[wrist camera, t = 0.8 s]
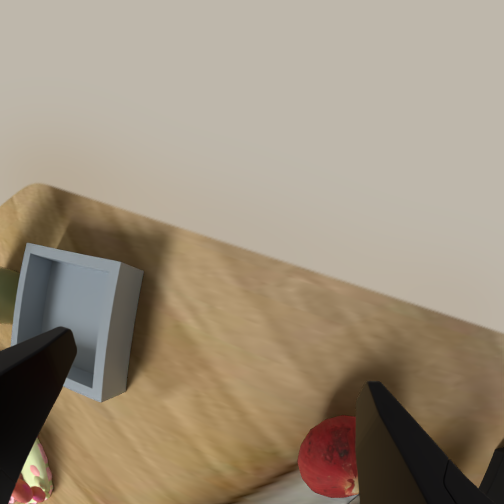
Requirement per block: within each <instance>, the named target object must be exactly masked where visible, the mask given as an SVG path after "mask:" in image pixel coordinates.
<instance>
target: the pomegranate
mask: <svg viewBox="0 0 504 504" xmlns="http://www.w3.org/2000/svg"><path fill="white" fill-rule="evenodd" d="M355 441H356V417H353V416H346V415H341V416H337V417H333V418H329V419H325V420H324V421H323V422H321V423H320V424H318V425H317V426H315V427H314V428H312V429H311V430H310V431H309V433H308V435H307V436H306V438H305V439H304V441H303V442H302V444H301V447H300V451H299V456H298V461H297V462H298V465H299V469H300V473H301V476H302V479H303V480H304V481H305V483H306V484H307V485H308V486H309V487H310V489H311V490H312V491H314V492H315V493H318V494H321V495H324V496H327V497H331V498H343V497H349V496H352V495H357V494H359V485H358V473H357V462H356V450H355Z"/></svg>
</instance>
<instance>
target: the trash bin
mask: <svg viewBox="0 0 504 504" xmlns="http://www.w3.org/2000/svg"><path fill="white" fill-rule="evenodd" d="M479 489H480V490H481V491H482V492H483V493H484V494H485V495H486V496H487V497H489V498H490V499H491V500H492V501H493V502H494V503H495V504H504V447H503V448H499V449H495V451H494V454H493V457H492V459H491V462H490V464H489V466H488V469H487V471H486V474H485V476H484V478H483V480H482V482H481V485H480V487H479Z"/></svg>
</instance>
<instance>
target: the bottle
mask: <svg viewBox="0 0 504 504" xmlns="http://www.w3.org/2000/svg"><path fill="white" fill-rule="evenodd" d="M19 277H20V274H19V273H18V272H17V271H15V270H11V269H7V268H4V267H0V324H13V318H14V309H15V302H16V295H17V289H18V283H19Z"/></svg>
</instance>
